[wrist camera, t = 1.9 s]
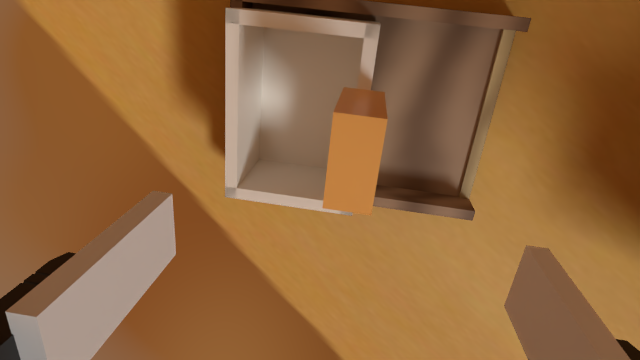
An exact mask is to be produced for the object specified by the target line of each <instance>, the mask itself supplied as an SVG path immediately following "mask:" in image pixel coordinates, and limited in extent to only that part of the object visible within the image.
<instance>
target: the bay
mask: <svg viewBox="0 0 640 360" xmlns="http://www.w3.org/2000/svg"><path fill="white" fill-rule="evenodd" d="M230 8H252V9H264V10H274V11H283V12H292V13H301V14H310V15H319V16H329V17H338V18H347V19H356V20H365V21H374V22H380V24H381V25H380V32H379V39H378V46H377V52H376V59H375V66H374V72H373V79H372V86H371V90H372V91H380V92H385V101H386V109H387V117H388V120H387V126H386V132H385V138H384V144H383V150H382V155H381V161H380V167H379V173H378V179H377V185H376V191H375V196H374V202H373V206H376V207H383V208H390V209H397V210H404V211H411V212H417V213H424V214H431V215H438V216H445V217H452V218H459V219H466V220H473V217H474V214H475V210H474V208H473V206H472V204H471V202H470V200H469V197H470V193H471V190H472V186H473V183H474V179H475V176H476V172H477V168H478V165H479V161H480V158H481V154H482V150H483V147H484V143H485V140H486V136H487V133H488V129H489V125H490V122H491V118H492V115H493V111H494V108H495V104H496V100H497V97H498V93H499V90H500V86H501V82H502V79H503V75H504V72H505V68H506V65H507V61H508V57H509V54H510V50H511V47H512V43H513V40H514V36H515V32H516V31H523V32H527V31H528V28H529V24H530V21H531V18H524V17H515V16H505V15H496V14H486V13H477V12H467V11H458V10H448V9H439V8H429V7H420V6H410V5H401V4H391V3H382V2H372V1H363V0H230Z"/></svg>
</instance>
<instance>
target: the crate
mask: <svg viewBox="0 0 640 360" xmlns="http://www.w3.org/2000/svg"><path fill="white" fill-rule="evenodd" d="M380 25H381V24H380V22H374V21H365V20H356V19H347V18H338V17H329V16H319V15H310V14H301V13H292V12H283V11H274V10H264V9H252V8H225V197H229V198H236V199H243V200H250V201H256V202H263V203H270V204H277V205H283V206H290V207H297V208H304V209H310V210H317V211H324V212H331V213H337V214H344V215H351V216H352V213H359V214H365V215H371V214H372V208H373V202H374V196H375V191H376V185H377V179H378V173H379V167H380V161H381V155H382V150H383V144H384V138H385V132H386V126H387V120H388V117H387V109H386V101H385V92H380V91H372V90H371V86H372V79H373V72H374V66H375V59H376V52H377V46H378V39H379V32H380Z"/></svg>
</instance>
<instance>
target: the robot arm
mask: <svg viewBox="0 0 640 360" xmlns="http://www.w3.org/2000/svg"><path fill="white" fill-rule="evenodd" d="M175 255H176V247H175V231H174V215H173V198H172V194H171V193H164V192H158V191H152V192H151V193H150V194H149V195H147V196H146V197H145V198H144V199H142V200H141V201H140V202H139V203H138V204H136V205H135V206H134V207H133V208H131V209H130V210H129V211H128V212H127V213H125V214H124V215H123V216H122V217H120V218H119V219H118V220H117V221H116V222H114V223H113V224H112V225H111V226H109V227H108V228H107V229H106V230H104V231H103V232H102V233H101V234H100V235H98V236H97V237H96V238H95V239H94V240H92V241H91V242H90V243H89V244H87V245H86V246H85V247H84V248H82V249H81V250H80V251H79V252H78V253H70V252H68V253H66V254H63V255H61V256H59V257H57V258H55V259H53V260H50V261H49V262H48V263H46V264H45V265H44V266H42V267H41V268H40V269H38V270H37V271H36V273H35V274H32V275H31V276H29V277H28V278H27V279H25V280H24V283H20V284H19V285H18V286H16V287H15V288H14V289H13V290H11V291H10V292H9V293H7V294H6V295H5V296H3V297H2V298H1V299H0V360H90V359H91V358H92V357H93V356H94V354H95V353H96V352H97V351H98V350H99V348H100V347H101V346H102V345H103V343H104V342H105V341H106V340H107V338H108V337H109V336H110V335H111V334H112V332H113V331H114V330H115V329H116V327H117V326H118V325H119V324H120V322H121V321H122V320H123V319H124V318H125V316H126V315H127V314H128V312H129V311H130V310H131V309H132V308H133V306H134V305H135V304H136V303H137V301H138V300H139V299H140V298H141V296H142V295H143V294H144V293H145V292H146V290H147V289H148V288H149V287H150V285H151V284H152V283H153V282H154V280H155V279H156V278H157V277H158V276H159V274H160V273H161V272H162V271H163V269H164V268H165V267H166V266H167V265H168V263H169V262H170V261H171V259H172V258H173V257H174V256H175ZM504 306H505V309H506V311H507V313H508V315H509V318H510V320H511V322H512V324H513V327H514V329H515V331H516V333H517V336H518V338H519V340H520V342H521V345H522V347H523V349H524V351H525V354H526V356H527V358H528V360H640V351H639V350H637V349H636V348H635V347H634V346H633V345H631V344H630V343H629V342H628V341H625V340H618V339H615V338H614V336H613V335H612V334H611V332H610V331H609V330H608V328H607V327H606V326H605V324H604V323H603V322H602V320H601V319H600V318H599V316H598V315H597V314H596V312H595V311H594V309H593V308H592V307H591V305H590V304H589V303H588V301H587V300H586V299H585V297H584V296H583V295H582V293H581V292H580V291H579V289H578V288H577V286H576V285H575V284H574V282H573V281H572V280H571V278H570V277H569V276H568V274H567V273H566V272H565V270H564V269H563V268H562V266H561V265H560V263H559V262H558V261H557V259H556V258H555V257H554V255H553V254H552V253H551V251H550V250H549V249H548V248H541V247H534V246H527V245H526V248H525V250H524V253H523V256H522V259H521V261H520V264H519V267H518V270H517V272H516V275H515V278H514V281H513V283H512V286H511V289H510V292H509V294H508V297H507V300H506V303H505V305H504Z"/></svg>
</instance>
